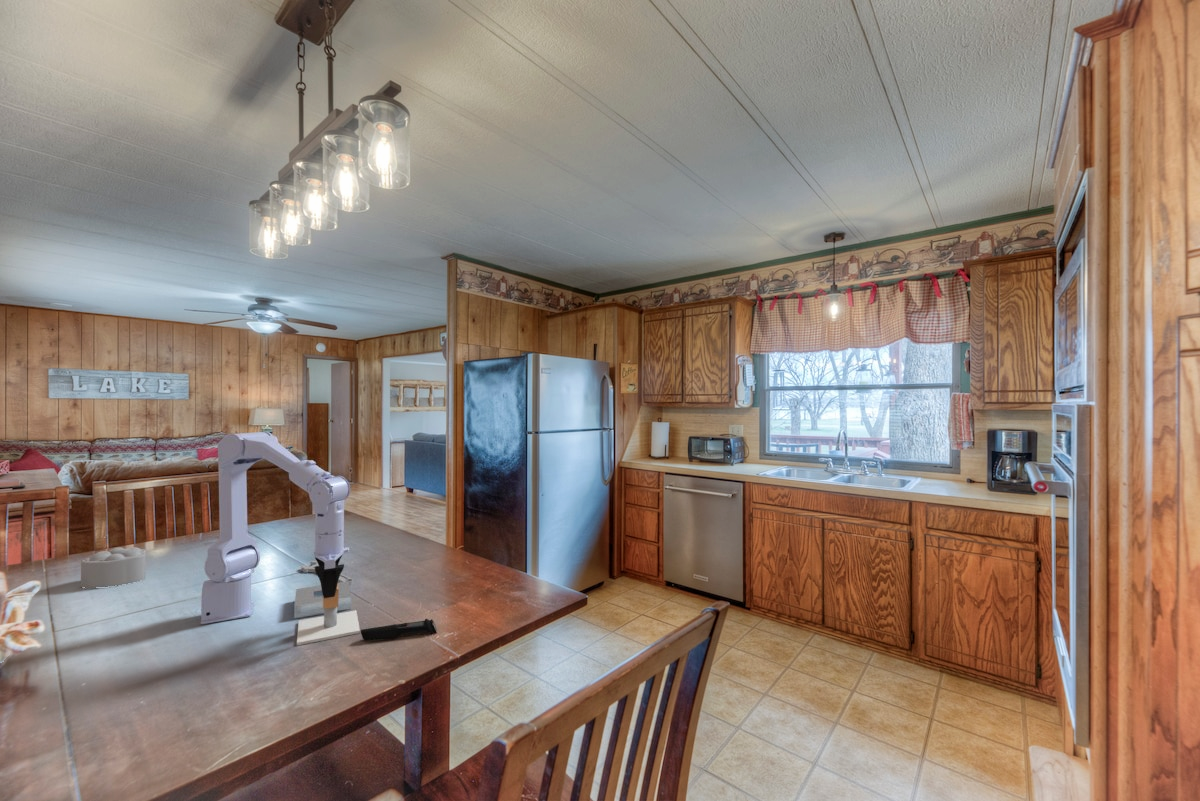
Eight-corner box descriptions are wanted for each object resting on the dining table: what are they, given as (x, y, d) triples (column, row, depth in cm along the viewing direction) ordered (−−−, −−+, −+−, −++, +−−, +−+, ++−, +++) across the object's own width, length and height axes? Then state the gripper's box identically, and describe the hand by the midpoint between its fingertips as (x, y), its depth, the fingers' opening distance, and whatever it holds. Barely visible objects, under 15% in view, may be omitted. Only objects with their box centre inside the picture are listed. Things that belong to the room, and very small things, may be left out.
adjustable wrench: (355, 585, 140) (355, 579, 140) (331, 592, 135) (331, 585, 135) (319, 564, 156) (320, 559, 156) (297, 570, 151) (297, 564, 151)
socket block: (294, 618, 117) (294, 606, 117) (296, 600, 128) (296, 589, 128) (351, 608, 123) (351, 596, 123) (348, 592, 134) (348, 581, 134)
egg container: (145, 581, 140) (145, 550, 140) (78, 593, 131) (79, 560, 131) (145, 571, 148) (146, 542, 148) (82, 582, 139) (83, 551, 139)
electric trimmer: (361, 639, 109) (361, 625, 109) (436, 628, 114) (436, 614, 114) (359, 647, 105) (359, 633, 105) (436, 635, 111) (436, 621, 111)
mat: (296, 645, 105) (296, 642, 105) (298, 623, 115) (298, 620, 115) (359, 633, 111) (359, 630, 111) (356, 612, 121) (356, 610, 121)
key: (322, 629, 111) (323, 591, 111) (322, 623, 114) (323, 586, 114) (338, 626, 113) (338, 588, 113) (337, 621, 115) (338, 584, 115)
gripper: (351, 537, 109) (350, 599, 109) (347, 522, 121) (347, 577, 121) (313, 541, 105) (312, 605, 105) (314, 525, 118) (313, 582, 118)
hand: (328, 591), depth 113 cm, fingers open, 7 cm apart
